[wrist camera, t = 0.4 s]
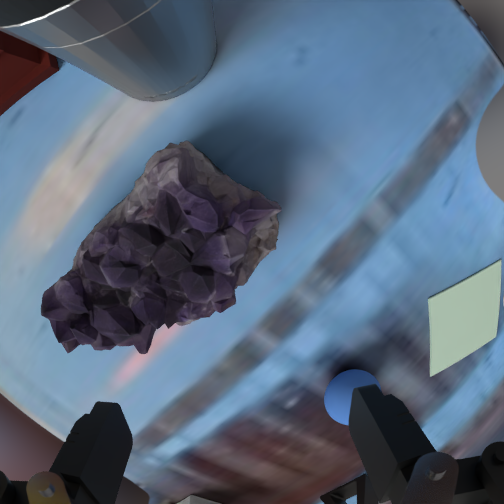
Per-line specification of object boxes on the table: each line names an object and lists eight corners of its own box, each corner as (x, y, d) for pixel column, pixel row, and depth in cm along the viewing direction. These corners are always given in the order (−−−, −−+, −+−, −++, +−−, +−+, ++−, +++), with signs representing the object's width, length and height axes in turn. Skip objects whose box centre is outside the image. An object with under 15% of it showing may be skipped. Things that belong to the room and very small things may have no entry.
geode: (134, 356, 29) (90, 416, 19) (63, 267, 27) (-3, 299, 17) (303, 235, 25) (323, 267, 16) (216, 124, 24) (185, 89, 14)
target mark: (428, 298, 29) (428, 299, 28) (500, 259, 28) (501, 259, 28) (429, 375, 32) (430, 376, 32) (495, 335, 32) (496, 336, 32)
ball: (313, 370, 30) (327, 410, 24) (366, 350, 30) (389, 385, 24) (324, 405, 32) (337, 443, 26) (372, 387, 32) (391, 421, 26)
